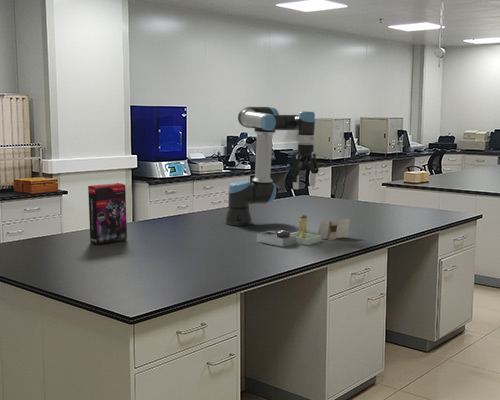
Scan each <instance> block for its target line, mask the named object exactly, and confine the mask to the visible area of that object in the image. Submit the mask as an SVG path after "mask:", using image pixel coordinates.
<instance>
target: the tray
mask: <svg viewBox="0 0 500 400" xmlns="http://www.w3.org/2000/svg"><path fill="white" fill-rule="evenodd" d="M290 235H295V236H296V241H295V244H297V245H301V246H302V245H303V246H311V245H314V244H318V243H321V242H322V239H321V236H320V235H317V234H316V233H315V234H314V233H308V232H306V239H305V238H299V231H295V232H290Z"/></svg>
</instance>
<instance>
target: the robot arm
mask: <svg viewBox="0 0 500 400" xmlns="http://www.w3.org/2000/svg"><path fill="white" fill-rule="evenodd" d="M298 113H299V114H280V113H279V111H278V110H277V108H275V107H272V106H247V107H244V108H243V109H241V110H240V111H239V113H238V115H237V120H238V123H239V124H240V125H241V126H242V127H244V128H249V129H254V130H253V131H254V132H255V134H256V146H255V147H256V148H255V150H256V151H255V171H254V177H253V178H251V181H249V180H239V181H234V182H231V183H230V184H229V186H228V191H227V192H228V209H227V213H226V216H225V218H224V223H225V224H226V225H229V226H243V227H244V226H251V225H252V224H253V218H252V216H251V212H250V205H261V204H263V205H266V204H271V203H273V201H274V200H275V199H276V196H277V195H276V194H277V186H276V183H274V181H273V179H272V178H271V169H272V152H273V151H272V150H273V149H272V148H273V135H274V134H275V133H276V131H298V133H297V134H298V135H297V136H298V137H297V143H298V144H297V152H298V153H299V154H295V155H294V160H293V163H292V166H291V169H290V172H289V174H290V175H291V176H292V189H293V190H299V186H300V185H299V184H300V181H299V180H300V175H299V174H300V171H301V170H302V168H303V166H304V165H305V164H307V167H308V168H309V171H310V173H309V187H311V188H315V186H316V174H318V173H319V167H318V161H317V158H316V153H314V148H315V147H314V146H315V145H314V143H315V129H316V127H315V125H316V123H315V122H316V113H315V111H302V110H301V111H299V112H298Z"/></svg>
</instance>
